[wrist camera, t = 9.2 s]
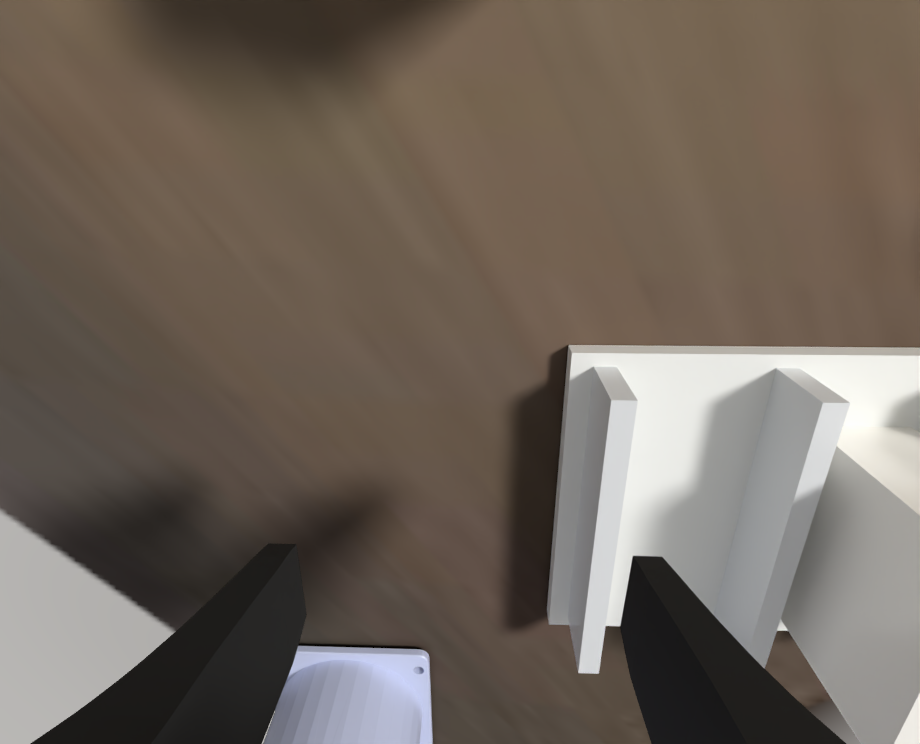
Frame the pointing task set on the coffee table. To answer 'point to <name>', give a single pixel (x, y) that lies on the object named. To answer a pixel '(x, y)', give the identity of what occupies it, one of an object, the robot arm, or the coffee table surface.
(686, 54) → the coffee table surface
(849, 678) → the cream rectangular prism
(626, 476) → the dish rack
